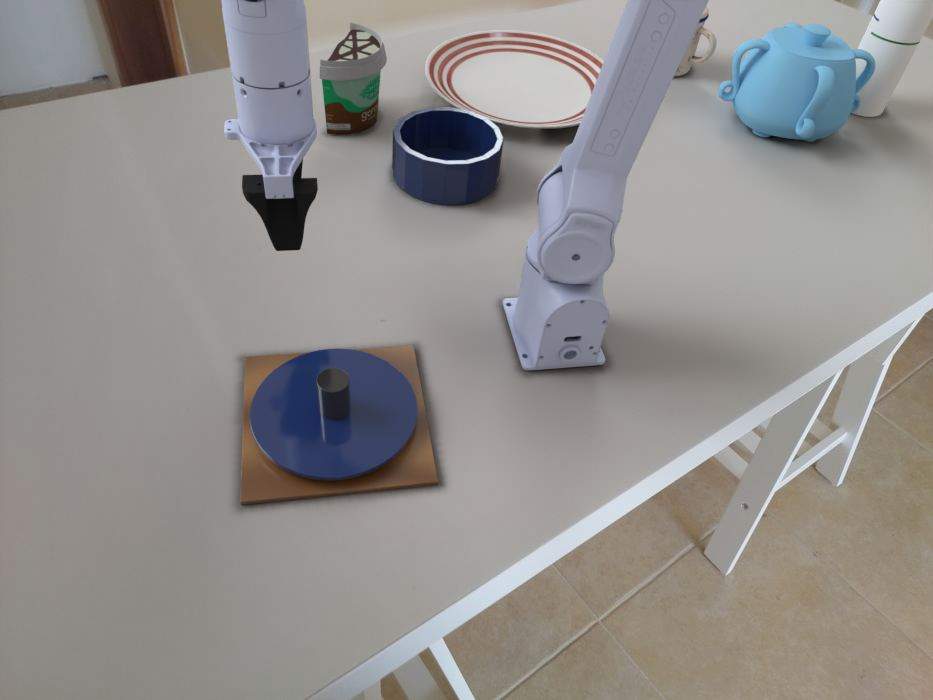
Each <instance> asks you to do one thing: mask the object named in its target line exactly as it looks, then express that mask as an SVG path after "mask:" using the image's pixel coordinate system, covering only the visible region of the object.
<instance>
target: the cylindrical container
mask: <svg viewBox="0 0 933 700" xmlns="http://www.w3.org/2000/svg"><path fill="white" fill-rule="evenodd" d="M932 20H933V0H880V1H879V2H878V4H877V7H876V9H875V11H874V14H873V15H872V17H871V19H870V22H869V24H868V25H867V28H866V30H865V32H864V34H863V36H862V38H861V41H860V43H859V45H858V46H857V49H862V50H865V51H867V52H869V53H870V54H871V55H872V56H873V58H874V60H875V64H876V66H875V71H874V73H873V75H872V76H871V78H870V79H869V81H868V82H867V83H866V84H865V85H864V86H863V87H862V88H861V90H860V91H859V92H858V93H857V95H859V96H860V98H861V104H860V107H859V108H858V109H857V110H856V111H855V112H852V113H851V114H852V115H856V116H860V117H864V118H865V117H867V118H875V117H879V116H881V115H882V114H883V112H884V110H885V109H886V107H887V105H888V103H889V101H890V99H891V98H892V95H893V93H894V91H895V90H896V88H897V86H898V84H899V82H900V81H901V79H902V76H903V74H904V73H905V71H906V69H907V67H908V65H909V64H910V61H911V59H912V58H913V56H914V54H915V53H916V50H917V48H918V46H919V44H920V43H921V41H922V38H923V37H924V35H925V33H926V31H927V29H928V28H929V25H930V23H931V22H932ZM855 60H856V79H857V78H858V77H859V76H860V75H861V73H862V72H863V70H864V69H865V67H866V64H867V62H866V61H865V60H863V59H855ZM853 102H854V101H853Z"/></svg>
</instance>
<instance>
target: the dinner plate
mask: <svg viewBox="0 0 933 700" xmlns="http://www.w3.org/2000/svg"><path fill="white" fill-rule="evenodd" d="M604 60H605V59H603V58H602V57H600V56H599V55H597V54H596V53H595V52H593V51H591V50H589V49H588V48H586V47H585V46H582V45H579V44H577V43H575V42H573V41H570V40H567V39H564V38H561V37H558V36H554V35H550V34H545V33H541V32H536V31H535V32H534V31H527V30H517V29H491V30H480V31H479V30H478V31H474V32H469V33H464V34H462V35H457V36H455V37H452V38H449V39H447V40H445V41H443V42H441V43H440V44H438V45H437V46H436V47H435V48H434V49H433V50H432V51H431V52H430V53H429V54H428V57H427V58H426V61H425V65H424V72H425V73H424V74H425V78H426V80H427V82H428V84H429V86H430V87H431V89H432V90H433V91H434V92H435V93H436V94H437V95H438V96H439V97H440V98H441V99H442V100H444V101H445V102H446V103H448V104H449V105H451V106H453V108H457V109H462V110H467V111H472V112H474V113H476V114H479V115H481V116H484V117H486V118H488V119H489V120H490V121H492V122H493V123H494V124H499V125H503V126H509V127H516V128H523V129H535V130H537V129H541V130H543V129H545V130H546V129H547V130H548V129H550V130H551V129H564V128H565V129H566V128H570V127H575V126H579V125H580V123H581V120H582V117H583V115H584V112H585V110H586V107H587V104H588V102H589V99H590V96H591V94H592V91H593V89H594V86H595V83H596V81H597V78H598V76H599V73H600V70H601V68H602V65H603V62H604Z"/></svg>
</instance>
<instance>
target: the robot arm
mask: <svg viewBox="0 0 933 700" xmlns="http://www.w3.org/2000/svg"><path fill="white" fill-rule="evenodd" d="M220 1H221V7H222V8H221V12H222V19H223V27H224V32H225V39H226V46H227V52H228V60H229V66H230V72H231V79H232V86H233V93H234V100H235V105H236V112H237V118H230V119H227V120H225V121H224V126H223V134H224V137H225V139H226V140H229V141H239V142H240V143H241V144H242V146H243V147H244V148H245V150H246V152H247V153H248V154H249V156H250V158H251V159H252V160H253V163H255V165H256V167H257V168H258V170H259V171H260V173H261V174H242V177H241V189H242V194H243V197H244V199H245V200H246V202H247V203H248V204H250V205H251V206H252V208H253V209H254V210H255V211H256V212H257V214H258V216H259V217H260V219H261V220H262V223H263V225H264V228H265V229H266V232H267V235H268V237H269V240H270V242H271V245H272V246H273V249H274V250H275V251H276V252H286V251H290V252H291V251H300V250H301V249H302V245H303V242H304V235H305V225H306V220H307V215H308V212H309V210H310V208H311V206H312V204H313V202H314V201H315V200H316V197H317V194H318V190H319V185H318V184H319V183H318V177H302V176H303V175H302V174H303V164H304V158H305V157H306V155H307V154H308V151H309V150H310V149H311V147H312V146H313V144H314V143H315V140H316V139H317V135H318V127H317V121H316V120H315V118H314V107H313V106H314V105H313V92H312V91H313V89H312V76H311V62H310V50H309V35H308V33H309V32H308V20H307V9H306V5H305V0H220ZM709 1H710V0H626V3H625V5H624V8H623V10H622V13H621V16H620V18H619V21H618V24H617V25H616V29H615V31H614V33H613V36H612V39H611V42H610V44H609V46H608V50H607V52H606V54H605V57H604V59H603V60H604V62H603V65H602V68H601V70H600V73H599V76H598V78H597V81H596V83H595V86H594V89H593V91H592V94H591V96H590V99H589V102H588V104H587V107H586V110H585V112H584V115H583V117H582V120H581V123H580V125H578V127H577V131H576V133H575V136H574V138H573V141H572V143H570V144H569V145H567V146H565V147H564V148H563V150H562V153H561V155H560V158H559V160H558V162H557V163H556V164H555V166H554V167H553V168H552V169H551V170H550V171H548V172H547V173H546V174H545V175H544V176H543V177H542V179H541V180H540V183H538V187H537V190H536V203H537V205H538V228H537V229H536V230H535V231H534V232H533V234H532V235H531V236H530V237H529V238H528V241H527V243H526V249H525V256H524V260H523V266H522V271H521V275H520V276H521V277H520V282H519V288H518V292H517V297H505V298H503V299H502V307H503V310H504V314H505V316H506V320H507V322H508V326H509V330H510V333H511V336H512V339H513V342H514V346H515V349H516V353H517V356H518V359H519V363H520V365H521V368H522V369H523V370H525V371H538V370H539V371H540V370H552V369H565V368H578V367H579V368H580V367H593V366H602V365H604V364H605V363H606V361H607V360H606V359H607V358H606V357H605V354H604V352H603V349H602V344H603V341H604V339H605V334H606V331H607V329H608V325H609V323H610V322H609V321H610V310H609V307H608V303H607V301H606V297H605V295H604V293H605V292H604V278H605V273H607V272H608V270H610V268H611V267H612V265H613V263H614V260H615V257H616V246H615V235H616V231H617V229H618V226H619V225H620V222H621V218H622V214H623V207H624V200H625V194H626V193H625V192H626V185H627V181H628V177H629V175H630V173H631V170H632V169H633V166H634V164H635V162H636V159H637V157H638V155H639V152H640V151H641V149H642V147H643V144H644V142H645V140H646V138H647V136H648V134H649V131H650V129H651V127H652V125H653V123H654V120H655V119H656V116H657V114H658V112H659V110H660V107H661V106H662V103H663V101H664V99H665V97H666V94H667V93H668V90H669V88H670V86H671V84H672V81H673V79H674V78H675V76H674V75H675V73H676V71H677V68H678V66H679V64H680V62H681V60H682V58H683V55H684V53H685V51H686V49H687V47H688V45H689V42H690V40H691V38H692V36H693V34H694V31H695V29H696V27H697V25H698V23H699V21H700V18H701V16H702V14H703V12H704V10H705V8H706V6H707V5H708V3H709Z"/></svg>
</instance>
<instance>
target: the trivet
mask: <svg viewBox="0 0 933 700" xmlns="http://www.w3.org/2000/svg"><path fill="white" fill-rule="evenodd" d="M354 350H358V351H363V352H366V353H370V354H372V355H375V356H378V357H380V358H382V359H384V360H386V361H387V362H389V363H390V364H392V365H393V366H395V367H396V368H397V369H398V370H399V371H401V373H402V374H403V375H404V376H405V377H406V378H407V380H408V381H409V383H410V384H411V386H412V388H413V390H414V393H415V396H416V400H417V408H418V411H417V422H416V426H415V429H414V432H413V434H412V437H411V438H410V440H409V442H408V443H407V445H406V446H405V447H404V448H403V450H402V451H401V452H400V453H399V454H398V455H397V456H396V457H395V458H394V459H392V460H391V461H390V462H388V463H387V464H385V465H384V466H382V467H380V468H378V469H377V470H375V471H372V472H370V473H367V474H365V475H362V476H358V477H355V478H350V479H344V480H330V481H329V480H315V479H309V478H305V477H301V476H298V475H295V474H292V473H290V472H288V471H285V470H284V469H282V468H280V467H279V466H277V465H275V464H274V463H273V462H272V461H270V460H269V459H268V458H267V457H266V456H265V455H264V454H263V453H262V451H261V450H260V448H259V447H258V445H257V444H256V442H255V439H254V437H253V434H252V430H251V426H250V407H251V403H252V400H253V397H254V395H255V393H256V391H257V389H258V388H259V386H260V384H261V383H262V382H263V381H264V379H265V378H266V377H267V376H268V375H269V374H270V373H271V372H272V371H274V370H275V369H276V368H278V367H279V366H280V365H282V364H283V363H285V362H287V361H289V360H291V359H293V358H295V357H297V356H300V355H303V354H306V353H307V352H298V353H284V354H270V355H269V354H268V355H255V356H253V355H252V356H245V358H244V359H245V360H244V382H243V383H244V385H243V386H244V388H243V409H242V410H243V415H242V436H241V437H242V439H241V441H242V442H241V463H240V464H241V466H240V467H241V468H240V493H239V494H240V495H239V498H240V499H239V504H240V505H251V504H261V503H262V504H263V503H271V502H281V501H291V500H299V499H300V500H301V499H309V498H319V497H320V498H321V497H329V496H341V495H350V494H358V493H369V492H377V491H378V492H379V491H388V490H396V489H407V488H416V487H417V488H418V487H426V486H435V485H439V479H438V474H437V473H438V472H437V468H436V467H437V466H436V462H435V457H434V450H433V446H432V441H431V440H432V439H431V434H430V430H429V429H430V428H429V423H428V417H427V411H426V406H425V401H424V395H423V388H422V384H421V383H422V382H421V378H420V373H419V367H418V366H419V365H418V361H417V355H416V350H415V346H414V345H401V346H400V345H399V346H387V347H386V346H385V347H372V348H371V347H370V348H356V349H354Z"/></svg>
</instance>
